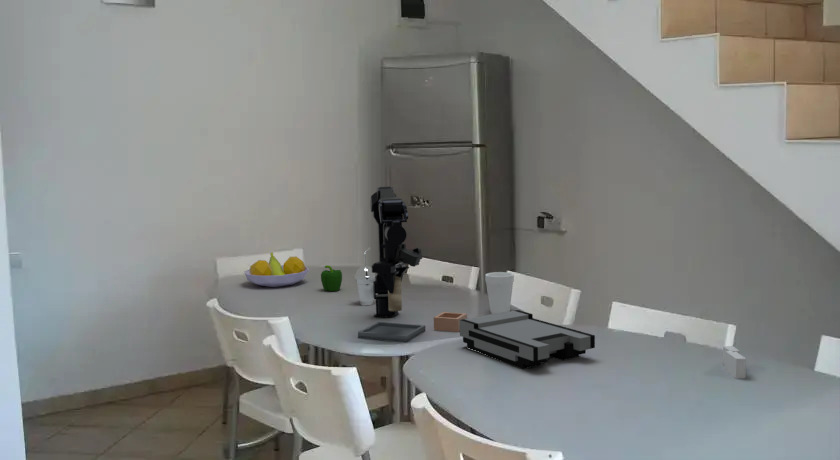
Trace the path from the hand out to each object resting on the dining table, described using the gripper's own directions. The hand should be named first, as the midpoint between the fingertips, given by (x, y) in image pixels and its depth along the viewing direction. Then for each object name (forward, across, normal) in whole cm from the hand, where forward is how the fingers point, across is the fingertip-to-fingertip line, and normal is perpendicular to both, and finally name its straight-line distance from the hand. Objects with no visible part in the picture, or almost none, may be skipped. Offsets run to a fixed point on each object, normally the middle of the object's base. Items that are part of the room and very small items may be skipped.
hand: (394, 292), depth 243 cm
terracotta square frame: (+13, +12, -13) cm, 22 cm away
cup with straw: (+13, +38, +28) cm, 49 cm away
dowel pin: (+6, 0, 0) cm, 6 cm away
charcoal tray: (+13, -1, +1) cm, 13 cm away
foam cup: (+13, +37, -22) cm, 45 cm away
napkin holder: (+14, -10, -96) cm, 98 cm away
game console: (+14, -9, -43) cm, 46 cm away
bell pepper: (+13, +57, +53) cm, 79 cm away
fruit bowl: (+13, +65, +83) cm, 106 cm away
